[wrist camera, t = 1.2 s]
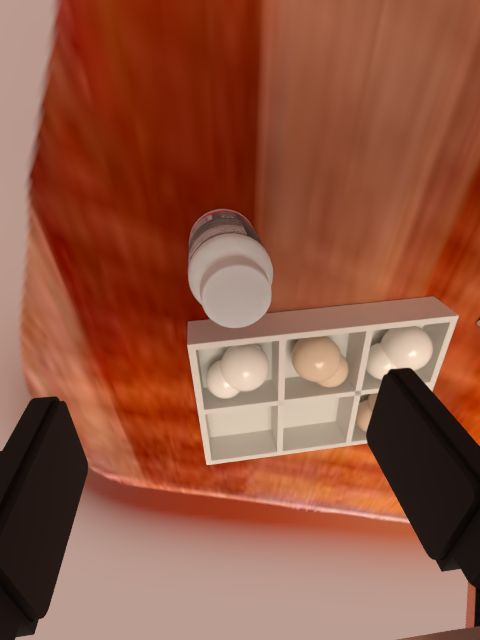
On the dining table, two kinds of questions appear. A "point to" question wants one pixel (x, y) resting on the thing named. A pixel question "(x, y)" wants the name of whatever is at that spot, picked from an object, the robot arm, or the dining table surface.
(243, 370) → the cream egg
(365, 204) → the dining table surface
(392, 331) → the cream egg
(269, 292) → the pill bottle
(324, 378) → the brown egg
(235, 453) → the grey compartment tray
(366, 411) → the brown egg
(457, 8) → the dining table surface
